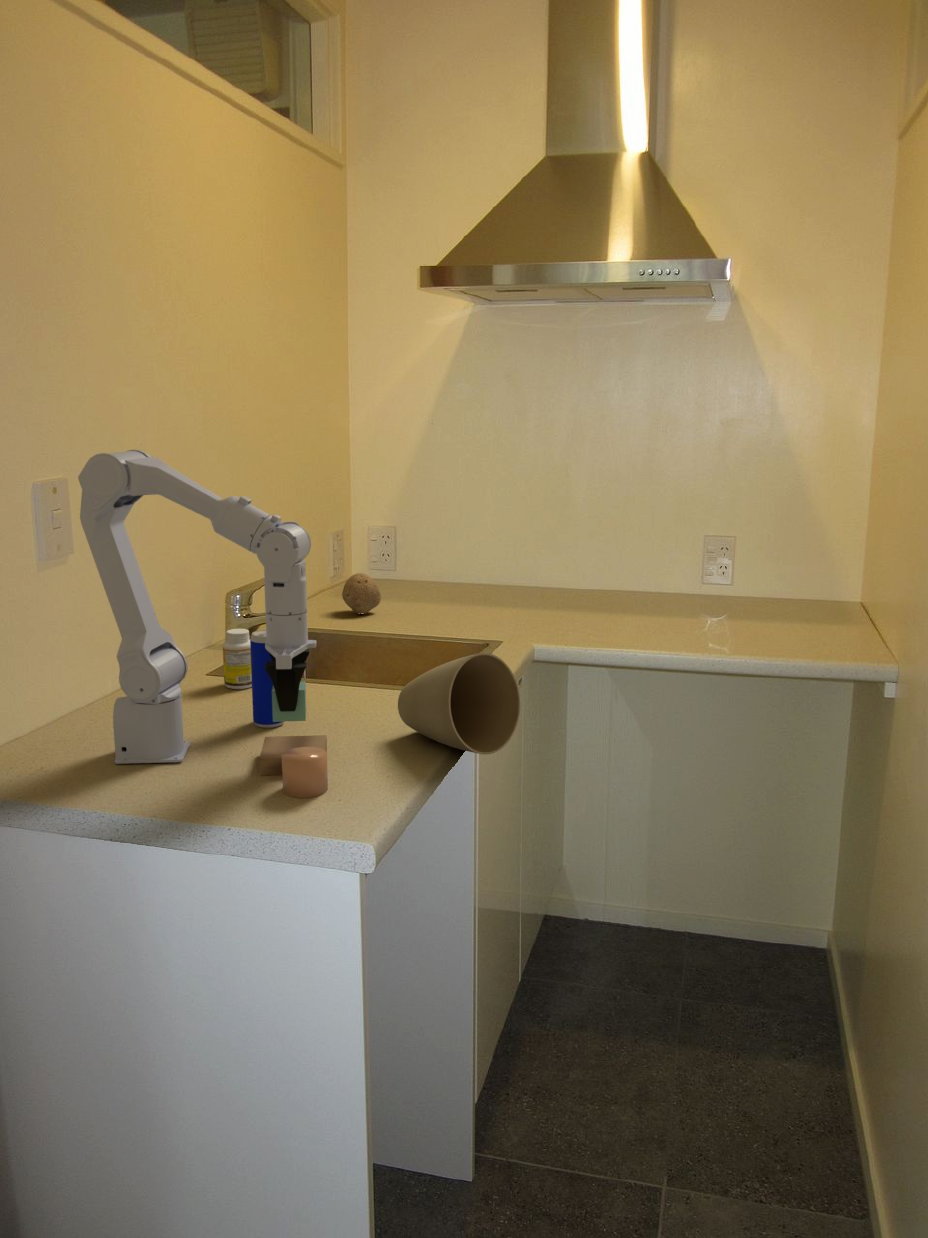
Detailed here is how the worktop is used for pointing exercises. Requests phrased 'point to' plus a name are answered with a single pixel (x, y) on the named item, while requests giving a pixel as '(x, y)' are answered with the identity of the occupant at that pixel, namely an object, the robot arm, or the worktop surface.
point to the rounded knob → (304, 772)
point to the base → (280, 744)
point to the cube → (291, 715)
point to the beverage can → (261, 682)
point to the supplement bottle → (237, 659)
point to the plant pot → (464, 703)
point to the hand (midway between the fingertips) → (289, 705)
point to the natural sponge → (361, 593)
